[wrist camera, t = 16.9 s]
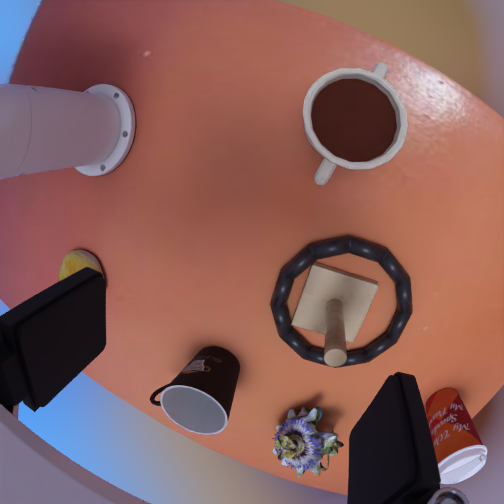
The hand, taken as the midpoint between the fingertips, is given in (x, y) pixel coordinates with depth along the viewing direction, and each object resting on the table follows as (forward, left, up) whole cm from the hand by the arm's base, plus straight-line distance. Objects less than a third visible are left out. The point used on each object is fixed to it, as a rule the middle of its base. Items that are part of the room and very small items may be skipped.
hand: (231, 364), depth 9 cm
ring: (+8, -9, -25) cm, 28 cm away
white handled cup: (+2, +10, -26) cm, 28 cm away
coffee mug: (-6, -24, -26) cm, 36 cm away
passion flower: (+12, -30, -26) cm, 42 cm away
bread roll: (-28, -18, -26) cm, 43 cm away
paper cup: (+30, -20, -26) cm, 45 cm away
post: (+7, -9, -26) cm, 29 cm away
